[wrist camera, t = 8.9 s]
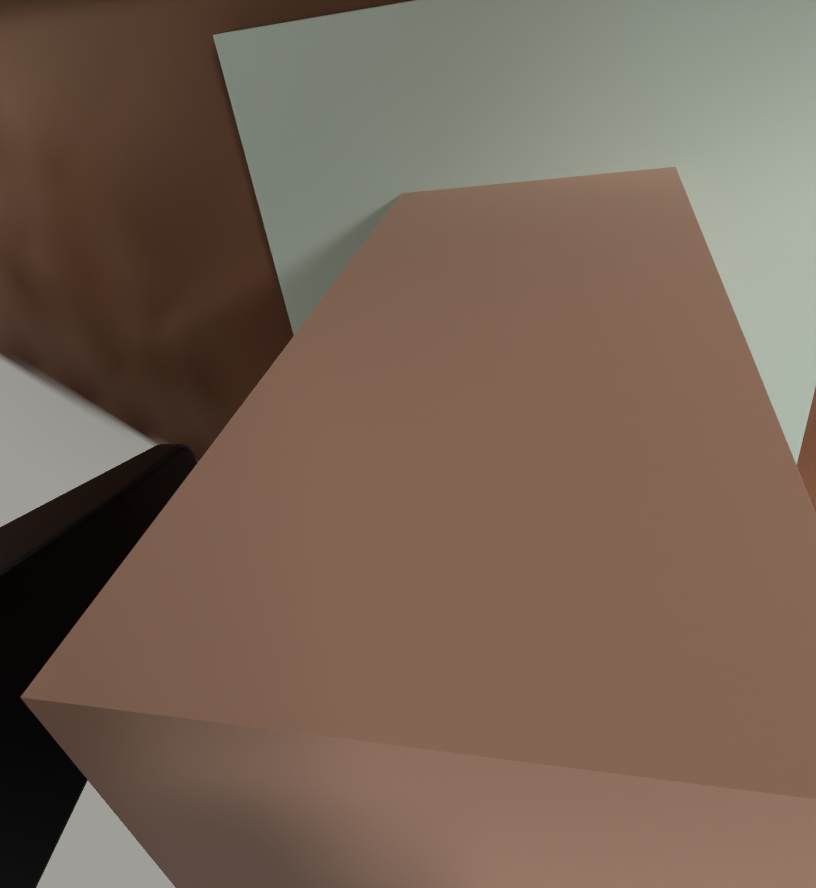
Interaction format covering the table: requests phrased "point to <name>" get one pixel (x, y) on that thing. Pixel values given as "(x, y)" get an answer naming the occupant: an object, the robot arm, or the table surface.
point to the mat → (547, 134)
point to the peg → (475, 579)
